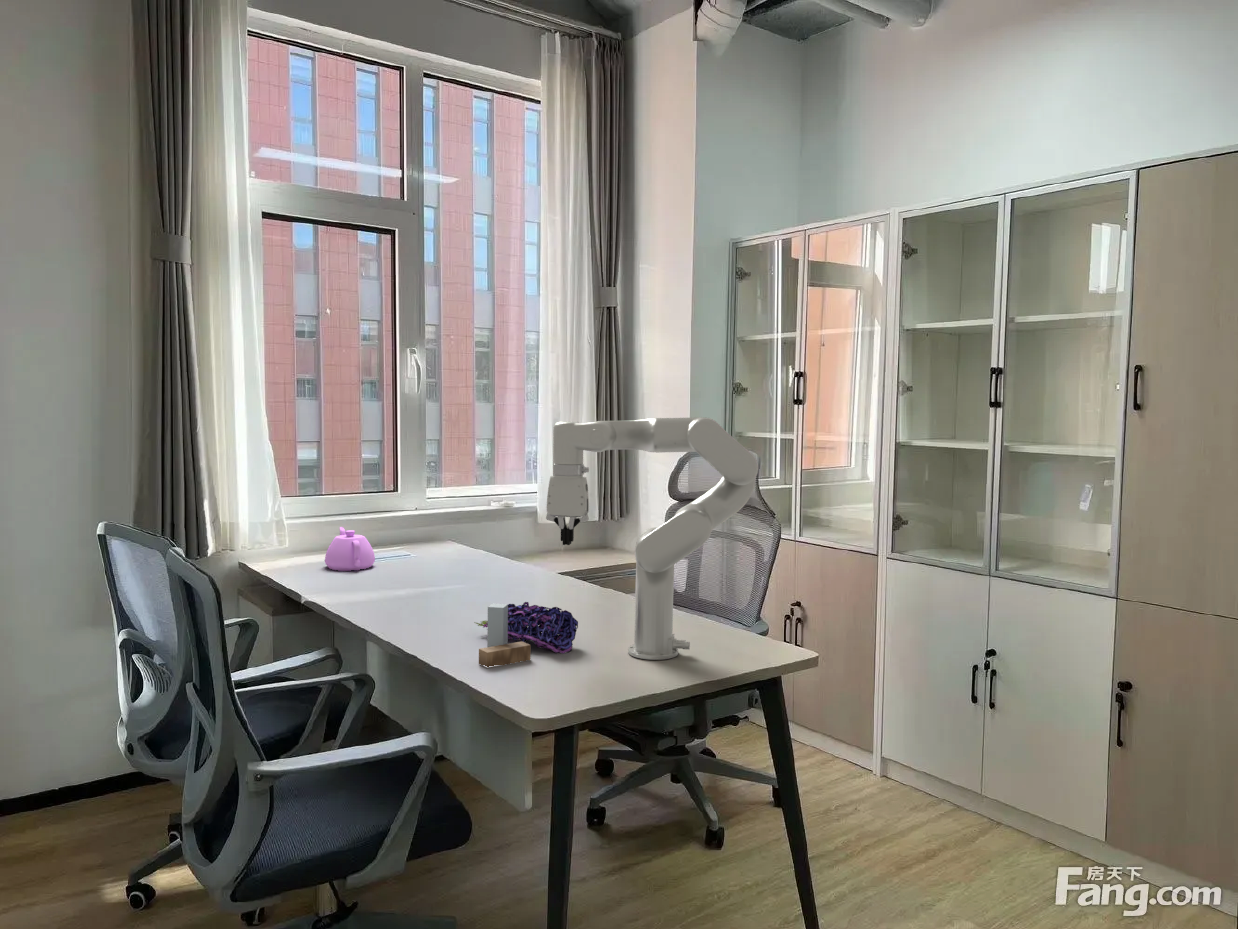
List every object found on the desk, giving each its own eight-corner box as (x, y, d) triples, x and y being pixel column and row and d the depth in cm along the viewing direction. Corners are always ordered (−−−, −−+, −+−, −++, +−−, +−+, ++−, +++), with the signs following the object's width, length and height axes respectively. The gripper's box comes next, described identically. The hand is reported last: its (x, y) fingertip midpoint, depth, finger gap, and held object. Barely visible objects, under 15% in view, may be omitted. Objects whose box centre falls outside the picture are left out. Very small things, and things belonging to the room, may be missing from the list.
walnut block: (522, 641, 225) (478, 648, 218) (530, 645, 222) (487, 652, 215) (521, 657, 226) (478, 665, 218) (530, 661, 223) (487, 669, 215)
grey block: (507, 651, 230) (507, 604, 229) (503, 655, 226) (503, 607, 225) (492, 650, 230) (492, 603, 229) (487, 654, 226) (487, 607, 225)
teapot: (383, 570, 333) (383, 533, 332) (333, 574, 324) (333, 536, 323) (363, 559, 354) (363, 524, 353) (316, 563, 345) (316, 527, 344)
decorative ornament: (548, 630, 223) (462, 609, 240) (555, 668, 226) (469, 644, 244) (582, 606, 233) (497, 587, 250) (588, 643, 236) (503, 621, 254)
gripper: (600, 471, 231) (599, 543, 232) (542, 469, 233) (541, 540, 234) (594, 473, 223) (593, 547, 225) (535, 471, 226) (534, 545, 227)
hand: (567, 544), depth 230 cm, fingers closed
